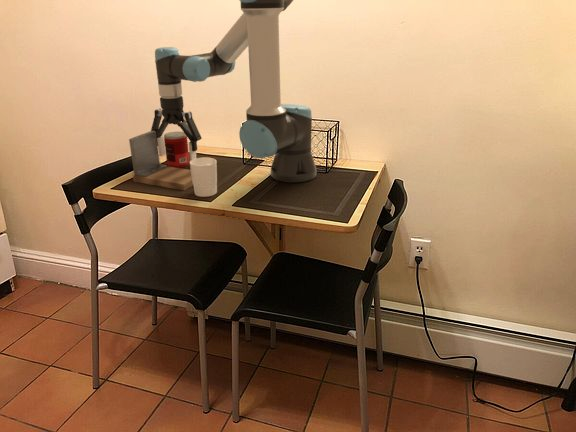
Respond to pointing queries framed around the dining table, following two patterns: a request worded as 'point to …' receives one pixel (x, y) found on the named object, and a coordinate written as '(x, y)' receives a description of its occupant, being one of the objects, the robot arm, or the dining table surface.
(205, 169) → the white cup
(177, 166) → the canned food
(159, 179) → the shelf board
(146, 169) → the bookend
